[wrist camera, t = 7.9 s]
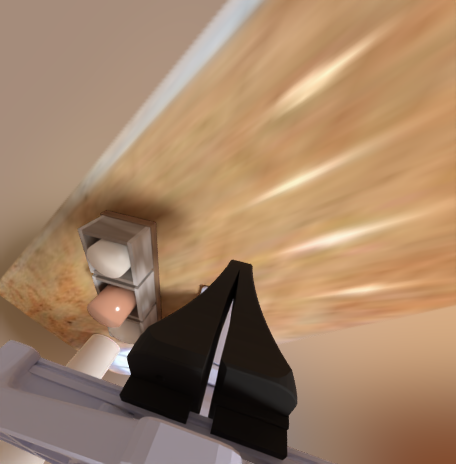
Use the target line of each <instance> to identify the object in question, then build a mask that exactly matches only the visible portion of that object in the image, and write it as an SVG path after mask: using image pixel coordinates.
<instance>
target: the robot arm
mask: <svg viewBox="0 0 456 464" xmlns="http://www.w3.org/2000/svg"><path fill="white" fill-rule="evenodd" d="M252 267H253V266H252V265H251V264H248V263H244V262H240V261H236V260H231V261H230V263H229V264H228V266H227V267H226V268H225V270H224V271H223V272H222V273H221V274H220V276H219V277H218V278H217V279H216V280H215V281H214V282H213V283H212V284H211V285H210V286H209V287H206V286H204V287H203V288H202V290H201V294H200V295H199V296H197V297H196V298H195V299H194V300H192V301H191V302H189V303H188V304H187V305H185V306H184V307H182V308H181V309H179V310H177V311H176V312H174V313H172V314H171V315H169V316H167V317H165V318H164V319H162V320H160V321H158V322H156V323H154V324H152V325H150V326H149V327H148V328H147V329H146V330H145V331H144V332H143V334H142V335H141V336H140V337H139V338H138V340H137V341H136V343H135V344H134V346H133V348H132V349H131V351H130V353H129V354H128V356H127V361H128V365H129V368H130V372H131V375H130V377H129V379H128V380H127V382H126V384H125V386H124V387H121V386H118V385H116V384H113V383H110V382H108V381H105V380H102V379H99V378H96V377H94V376H91V375H88V374H85V373H83V372H80V371H77V370H74V369H71V368H69V367H66V366H63V365H60V364H57V363H55V362H52V361H49V360H46V359H44V358H41V357H40V354H39V353H38V352H37V350H36V349H34V348H32V347H31V346H28V345H25V344H22V343H20V342H17V341H14V340H10V341H8V342H7V343H6V344H5V345H4V346H2V347H1V348H0V440H2V441H4V442H7V443H9V444H11V445H13V446H15V447H17V448H20V449H22V450H24V451H26V452H28V453H30V454H33V455H35V456H37V457H39V458H41V459H43V460H45V461H48V462H50V463H52V464H252V463H254V464H336V463H332V462H330V461H327V460H324V459H321V458H319V457H316V456H313V455H310V454H308V453H305V452H302V451H299V450H297V449H294V448H291V447H288V446H287V430H288V429H289V415H290V413H291V412H292V411H293V410H294V408H295V407H296V405H297V392H296V386H295V380H294V376H293V372H292V369H291V368H290V366H289V365H288V363H287V361H286V360H285V358H284V357H283V355H282V353H281V352H280V350H279V348H278V346H277V344H276V342H275V340H274V338H273V336H272V334H271V332H270V330H269V328H268V326H267V323H266V321H265V319H264V316H263V313H262V311H261V308H260V305H259V302H258V298H257V294H256V290H255V286H254V281H253V272H252ZM248 461H249V462H248ZM250 462H252V463H250Z"/></svg>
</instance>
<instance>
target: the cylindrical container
mask: <svg viewBox="0 0 456 464" xmlns="http://www.w3.org/2000/svg"><path fill="white" fill-rule="evenodd" d="M119 352H120V347H119V346H118V344H117V343H116V342H114V341H113V340H112V339H110V338H109V337H107V336H104V335H101V334H93V335H92V336H91V337H90V338H89V339H88V340H87V341H86V343H85V344H84V345H83V346H82V347H81V348H80V350H79V351H78V352H77V353H76V355H74V357H73V358H72V359H71V360H70V361H69V363H67V365H66V367H69V368H71V369H74V370H77V371H80V372H83V373H85V374H88V375H91V376H94V377H96V378H99V379H102V377H103V376H104V374H105V372H106V371H107V370H108V368H109V367H110V365H111V364H112V362H113V361H114V360H115V358H116V357H117V355H118V354H119ZM44 462H45V460H43V459H41V458H39V457H37V456H35V455H33V454H30V453H28V452H26V451H24V450H22V449H20V448H17V447H15V446H13V445H11V444H9V443H7V442H4V441H2V440H1V441H0V464H43V463H44Z"/></svg>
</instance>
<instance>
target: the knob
mask: <svg viewBox="0 0 456 464" xmlns="http://www.w3.org/2000/svg"><path fill="white" fill-rule="evenodd" d="M108 329H109V332H110V333H111V334H112V335H113V336H114V337H115V338H116V339H118V340H120V341H122V342H124V343H128V344H133V343H135V342H136V341H137V339H138V338H139V336H140V335H141V328H140V325H139V324H136V323H133V322H130V321H126V320H124V322H123V323H122V324H121V326H120V327H117V328H111V327H108Z"/></svg>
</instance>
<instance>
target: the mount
mask: <svg viewBox="0 0 456 464" xmlns="http://www.w3.org/2000/svg"><path fill="white" fill-rule="evenodd" d="M100 214H101V216H100V217H98V218H96V219H95V220H93V221H91V222H89V223H87V224H86V225H84V226H82V227H80V228H78V232H79V235H80V239H81V242H82V245H83V248H84V252H85V255H86V258H87V249H88V248H89V247H90V246H92V245H93V244H95V243H96V242H98V241H99V240H100V239H104V240H107V241H111V242H115V243H119V244H122V245H126V246H128V252H129V258H130V264H131V267H130V268H129V269H128V270H127V271H126V272H125V273H124V274H123V275H122V276H121V277H119V278H110V277H107V276H105V275H103V274H101V273H99V272H98V271H97V270H96V269H95V268H94V267H93V266H92V265H91V264H90V262H89V260H88V258H87V262H88V265H89V268H90V271H91V273H94V275H92V278H93V281H94V285H95V288H96V291H97V295H98V294H99V293H100V292H101V291H102V290H103V289H104V288H105V287H106V286H107V285H109V284H112V285H115V286H119V287H122V288H125V289H129V290H132V291H135V296H136V303H137V305H136V306H135V307H134V309H133V310H132V311H131V313H130V314H129V315H128V317H127V318H126V319H125V320H126V321H130V322H133V323H136V324H139V325H140V328H141V335H142V334H143V332H144V331H145V330H146V329H147V328H148V327H149V326H150V325H152V324H154V323H156V322H158V321H160V320H162V317H161V300H160V283H159V266H158V250H157V233H156V222H152V221H148V220H144V219H140V218H136V217H132V216H127V215H123V214H119V213H115V212H111V211H107V210H106V211H104V212H102V213H100ZM108 331H109V329H108ZM109 334H110V336H112V337H114V336H113V335H112V334H111V333H110V332H109ZM141 335H140V336H141ZM140 336H139V337H140ZM137 340H138V339H137ZM135 343H136V342H135ZM135 343H133V344H135Z"/></svg>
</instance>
